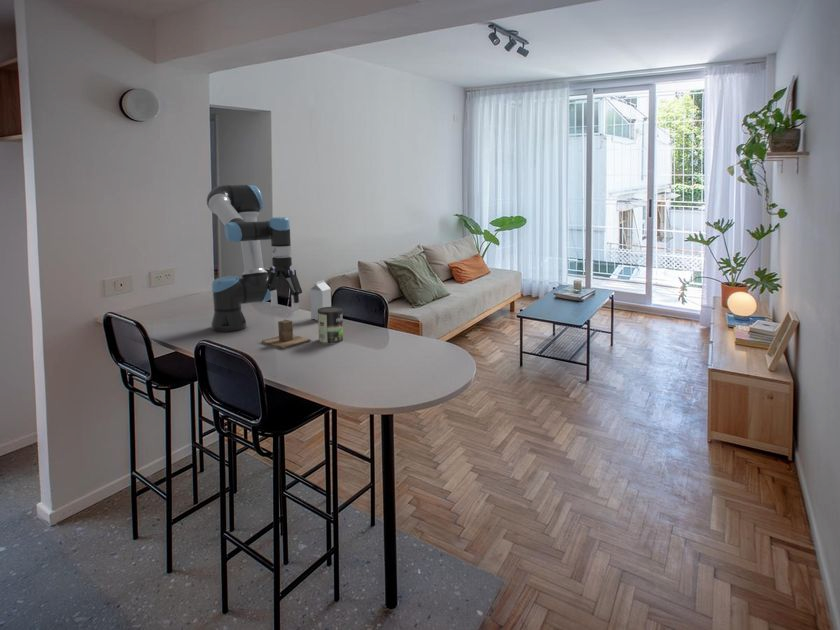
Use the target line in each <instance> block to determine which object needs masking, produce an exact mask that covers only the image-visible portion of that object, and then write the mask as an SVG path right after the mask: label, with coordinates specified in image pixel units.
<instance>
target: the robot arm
mask: <svg viewBox="0 0 840 630" xmlns="http://www.w3.org/2000/svg"><path fill="white" fill-rule="evenodd" d="M263 203H264V201H263V196H262V192H261V191H260V189H259V188H258V187H257V186H256V185H251V184H250V185H249V184H222V185H218V186H215V187H214V188H213V189H211V190H210V191H209V193H208V195H207V197H206V205H207V208H208V210H210V212H211V213H213V214H214V215H216V216H217V217H218V219H219V220H220V221H221V223H222V225H224V229H223V231H224V237H225V239H226V241H228V242H236V243H238V242H239V243H240V246H241V253H242V254H241V255H242V261H243V268H244V269H243V270H244V271H243V272H242V274H241V278H240V277H239V276H238V275H227V276H226V275H225V276H221V277H218V278H215V279H214V280H213V281H212V285H211V286H212V288H211V292H212V297H213V299H212V300H213V311H214V312H213V316H212V321H211V330H212V331H214V332H219V333H229V332H236V331H240V330H244V329H246V328H247V320H246V318H245V316H244V314H243V311H242V305H244V304H254V303H262V302H267V301H270V307H277V306H278V305H279V302H278V292H277V291H278V289H277V287H278V285H279V283H280V281H281V280H282V281H284V282H285V283H286V285H287V287H288V288H289V290H290V292H291V294H290V296H291V311H292V312H296V311H299V303H300V299H299V298H300V297H299V295H301V294H302V293H303V289H302V288H301V285H300V282H299V279H298V275H297V270H296V269H291V267H292V266H293V263H292V257H291V256H292V247H291V246H292V244H291V243H292V242H291V225H290V219H289V217H287V216H276V217H275V216H274V217H271V218H270V219H269V220H265V221H264V220H262V221H258V216H259V215H260V212H261V211H262V210H263V208H264V206H263V205H264V204H263ZM261 241H270V244H271V256H272V258H271V260H272V266H270V267H269V273H268V271H267V270H266V269H265V268H264V261H263V254H262V245H261Z"/></svg>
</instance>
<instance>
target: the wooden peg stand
mask: <svg viewBox="0 0 840 630" xmlns="http://www.w3.org/2000/svg"><path fill="white" fill-rule="evenodd" d="M277 325H278V326H277V327H278V335H277V336H275V337H269V338H266V339H262V340H261V342H262V343H264V344H267V345H270V346H273V347H277V348H280V349H287V348H290V347H294V346H297V345H301V344H304V343H308V342H310V340H311V339H310V338H306V337H302V336H300V335H295V334H293V333H294V332H293V331H294V330H293V320H288V319H283V320H279V321H277Z"/></svg>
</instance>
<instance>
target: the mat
mask: <svg viewBox="0 0 840 630" xmlns="http://www.w3.org/2000/svg"><path fill="white" fill-rule="evenodd" d="M313 343H316V340H311V339H310V342H308V343H304V344H301V345H297V346H294V347H290V348H287V349H280V348H277V347H273V346H270V345H267V344H264V343H262V341H259V342H257V344H258V345H261V346H264V347H269V348H271V349H274V350H278V351H281V352H285V351H288V350H292V349H295V348H299V347H302V346H305V345H309V344H313Z"/></svg>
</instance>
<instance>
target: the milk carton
mask: <svg viewBox="0 0 840 630" xmlns="http://www.w3.org/2000/svg"><path fill="white" fill-rule="evenodd" d="M309 291H310V292H309V294H310V296H309V297H310V316H311V317H310V319H315V320H314V321H318V309H319V308H323V307H332V292H331V291H332V290H331V287H330V286H329V285H328V284H327V283H326V281H325V279H322V280H319V281H316V282H315V283H314V284H313V286H312V287H311V288H310V290H309Z"/></svg>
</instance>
